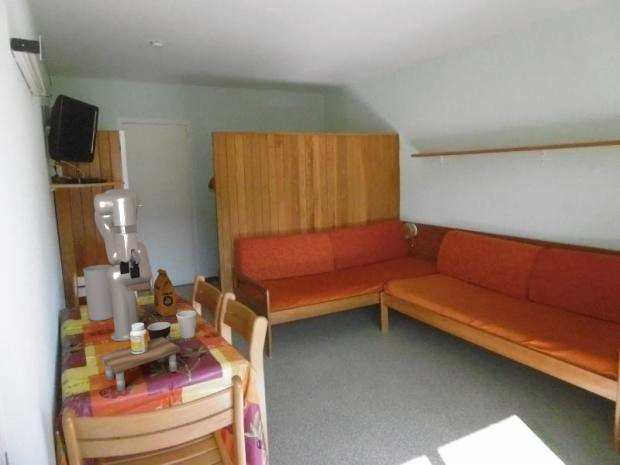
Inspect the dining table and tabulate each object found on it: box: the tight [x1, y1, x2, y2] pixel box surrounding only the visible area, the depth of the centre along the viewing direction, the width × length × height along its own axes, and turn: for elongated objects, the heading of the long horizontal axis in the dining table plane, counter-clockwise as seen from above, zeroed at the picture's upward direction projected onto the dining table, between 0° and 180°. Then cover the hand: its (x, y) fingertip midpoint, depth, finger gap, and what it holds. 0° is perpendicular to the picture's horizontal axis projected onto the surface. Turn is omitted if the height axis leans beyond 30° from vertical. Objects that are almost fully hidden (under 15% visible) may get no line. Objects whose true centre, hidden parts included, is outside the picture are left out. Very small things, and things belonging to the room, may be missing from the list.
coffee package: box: [153, 268, 178, 318], centre depth 205 cm, size 10×12×22 cm
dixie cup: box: [175, 310, 197, 339], centre depth 176 cm, size 8×8×10 cm
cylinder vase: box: [83, 264, 114, 322], centre depth 201 cm, size 12×12×25 cm
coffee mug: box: [147, 321, 172, 342], centre depth 164 cm, size 12×9×10 cm
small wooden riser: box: [99, 337, 181, 392], centre depth 143 cm, size 14×22×8 cm, turn 135°
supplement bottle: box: [129, 322, 149, 354], centre depth 142 cm, size 5×5×10 cm
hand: (130, 275), depth 151 cm, fingers open, 9 cm apart
